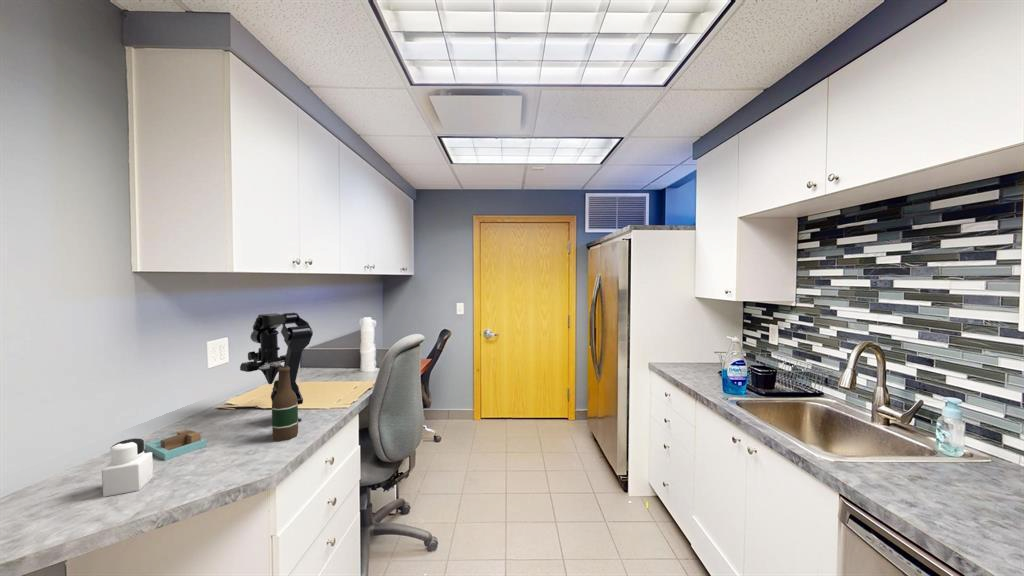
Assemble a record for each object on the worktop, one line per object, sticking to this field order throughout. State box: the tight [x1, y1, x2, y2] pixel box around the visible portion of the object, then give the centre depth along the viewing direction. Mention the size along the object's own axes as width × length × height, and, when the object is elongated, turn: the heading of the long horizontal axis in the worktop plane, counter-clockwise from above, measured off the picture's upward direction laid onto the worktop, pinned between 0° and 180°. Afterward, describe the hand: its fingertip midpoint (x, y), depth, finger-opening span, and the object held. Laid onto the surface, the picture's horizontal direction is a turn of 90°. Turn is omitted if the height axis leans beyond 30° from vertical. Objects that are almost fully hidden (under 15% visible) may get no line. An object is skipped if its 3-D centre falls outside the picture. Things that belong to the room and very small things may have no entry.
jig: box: [144, 434, 208, 461], centre depth 119 cm, size 14×10×2 cm
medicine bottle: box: [101, 438, 154, 498], centre depth 97 cm, size 7×7×12 cm
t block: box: [159, 429, 202, 450], centre depth 119 cm, size 8×8×4 cm
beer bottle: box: [271, 365, 299, 442], centre depth 126 cm, size 8×8×24 cm
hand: (270, 384), depth 148 cm, fingers closed
